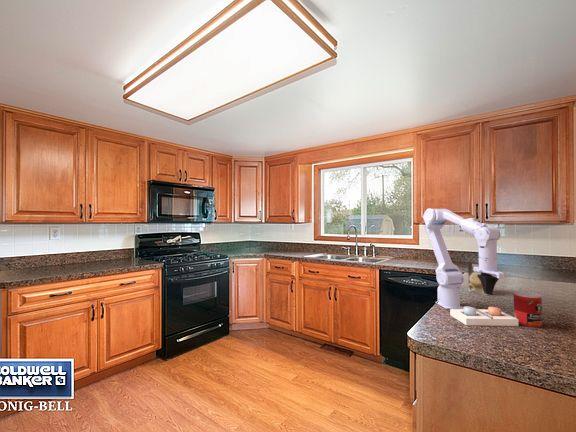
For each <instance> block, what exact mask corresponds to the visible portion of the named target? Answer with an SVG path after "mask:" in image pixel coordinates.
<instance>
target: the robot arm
mask: <svg viewBox="0 0 576 432" xmlns="http://www.w3.org/2000/svg"><path fill="white" fill-rule="evenodd" d="M422 218H423V222H424V223H425V230H426V231H425V232H426V234H427V236H428V238H429V242H430V245H431V247H432V249H433V254H434V256H435V259H436V262H437V265H438V266H437V267H436V269H435V271H434V272H435V273H436V274H435V275H436V276H435V277H436V281H437V284H438V287H437V290H436V291H437V301H435V304H437V305H439V306H440V307H442V308H444V309H446V310H450V309H464V307H465V306H462V305H461V291H460V290H461V288H460V287H462V284H463V283H464V281H465V276H464V275H463V272H462V271H461V270H460V269H459V266H458V265H456V264H455V263H453V261H452V259H451V258H452V257H451V256H450V253H449V251H448V248H447V246H446V243H445V240H444V237H443V235H442V232H441V229H442V228H443V227H444V226H445V225H446V224H447V222H450V223H452V224H455V225H456V226H457V225H458V226H460V228H461V230H462V231H463V232H465V233H468V234H469V235H471V236H473V237H474V238H475V240H476V241H477V244H476V245H477V246H478V261H479V267H474V271H475V272H480V273H481V274H478V275H477V276H478V278H479V280H480V282H481V284H482V287H483V290H484V293H485V294H490V295H493V292H494V289H495V286H496V284H497V282H498V281H499V280H500V279H504V280H505V273H504V272H501V271H499V270H498V240H500V238H501V235H502V234H501V231H500V229H499V228H498V227H496V226H494V225H491V226H489V225H487V223H485V222H483V223H482V222H480V221H477V220H476V219H477V218H474V217H469V218H464V217H463V216H461V215H458V214H456V213H455V212H452V211H451V209H450V210H449V209H447V208H427V209H426V210H425V211H424V213H423V215H422ZM438 301H439V302H438ZM437 302H438V303H437Z"/></svg>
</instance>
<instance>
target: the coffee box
mask: <svg viewBox="0 0 576 432" xmlns="http://www.w3.org/2000/svg"><path fill="white" fill-rule="evenodd" d="M467 266H468V269H467V270H468V271H467V272H468V274H467V275H468V276H467V279H468V283H467V284H468V285H467V286H468V290H467V291H468V292H469V293H473V294H477V295H484V296H489V295H491V294H485V293H484V290H483V287H482V284H481V282H480V280H479V278H478V276H477V275H478V274H481V273H480V272H475V271H474V267H479V260H471V261H468V262H467Z"/></svg>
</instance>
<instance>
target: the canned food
mask: <svg viewBox="0 0 576 432" xmlns="http://www.w3.org/2000/svg"><path fill="white" fill-rule="evenodd" d="M542 301H543V300H542V295H541V294H540V293H537V292H534V291H533V292H532V291H529V290H528V291H526V290H515V291H513V317H515V318H517V319H518V324H519V325H522V326H524V327H529V328H540V327H542V325H543V307H542V305H543V302H542Z"/></svg>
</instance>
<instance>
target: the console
mask: <svg viewBox="0 0 576 432" xmlns="http://www.w3.org/2000/svg"><path fill="white" fill-rule="evenodd" d="M449 311H450V312H449V315H450V316H451V317H452V318H454V319H456V320H457V321H459V322H460V323H463V324H464V325H465V326H479V327H481V326H483V327H485V326H487V327H488V326H492V327H494V326H495V327H497V326H498V327H519V325H520V324H518V319H517V318H515V317H514V316H512V315H510V314H508V313H505V312H504V311H501V316H491V315H489V314H488V308H487V309H483V308H482V309H479V308H478V309H477V308H476V316H466V315H465V314H464V309H449Z"/></svg>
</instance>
